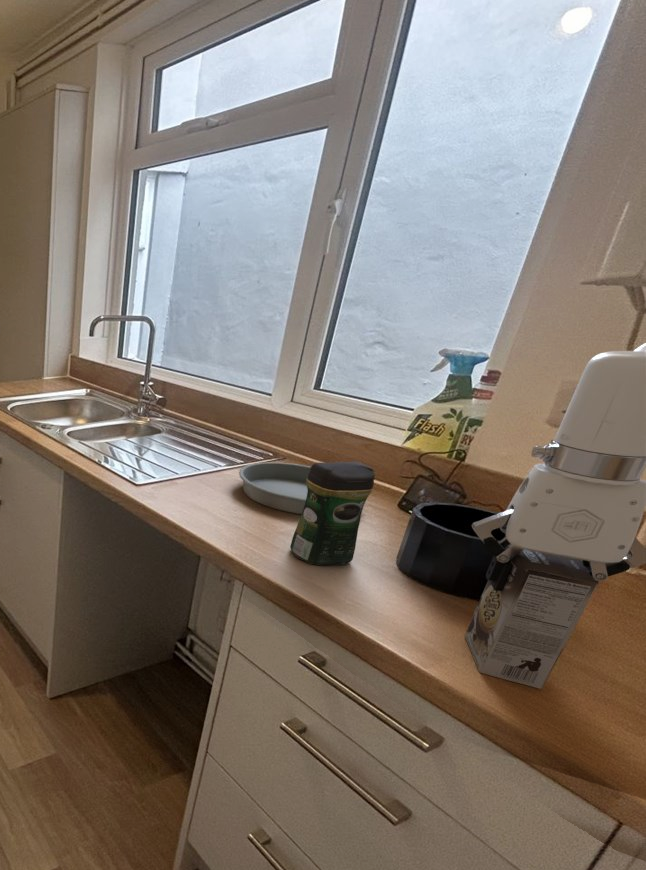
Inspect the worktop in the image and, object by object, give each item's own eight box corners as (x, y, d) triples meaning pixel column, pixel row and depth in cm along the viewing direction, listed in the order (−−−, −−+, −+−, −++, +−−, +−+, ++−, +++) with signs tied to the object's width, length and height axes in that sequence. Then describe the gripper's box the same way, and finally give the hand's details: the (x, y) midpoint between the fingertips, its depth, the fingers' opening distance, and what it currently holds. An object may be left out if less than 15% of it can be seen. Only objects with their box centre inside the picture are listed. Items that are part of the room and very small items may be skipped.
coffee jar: (330, 545, 102) (355, 455, 95) (359, 566, 95) (389, 470, 88) (281, 547, 102) (303, 456, 95) (306, 568, 94) (332, 471, 87)
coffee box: (461, 635, 77) (503, 537, 71) (521, 650, 74) (570, 548, 68) (477, 673, 69) (525, 567, 63) (544, 691, 66) (601, 582, 60)
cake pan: (242, 511, 117) (246, 492, 116) (230, 474, 139) (233, 457, 137) (372, 525, 110) (378, 506, 108) (338, 484, 131) (342, 467, 130)
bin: (500, 567, 94) (523, 514, 90) (528, 612, 82) (556, 553, 78) (391, 545, 102) (408, 496, 98) (402, 584, 89) (421, 529, 85)
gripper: (502, 459, 62) (450, 588, 69) (730, 486, 53) (645, 631, 60) (485, 442, 68) (439, 563, 75) (688, 465, 59) (616, 598, 66)
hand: (532, 592), depth 67 cm, fingers closed on coffee box, 6 cm apart
